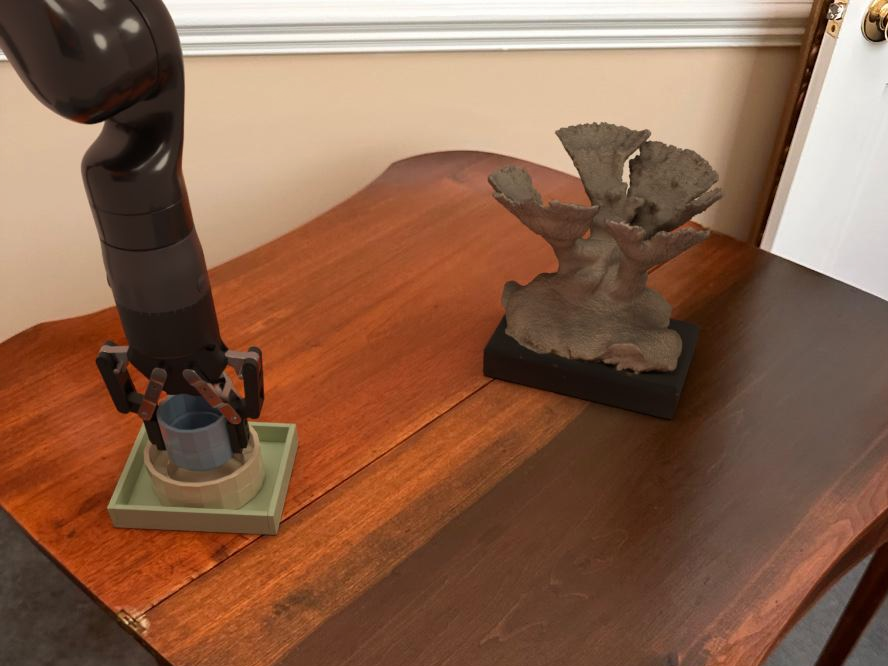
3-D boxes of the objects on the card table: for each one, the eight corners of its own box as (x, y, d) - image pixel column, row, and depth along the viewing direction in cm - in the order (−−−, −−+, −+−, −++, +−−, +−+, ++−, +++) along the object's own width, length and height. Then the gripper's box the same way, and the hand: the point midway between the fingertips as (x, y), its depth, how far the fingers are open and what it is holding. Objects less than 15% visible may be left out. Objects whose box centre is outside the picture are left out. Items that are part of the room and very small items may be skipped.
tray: (114, 527, 81) (106, 508, 79) (151, 436, 89) (145, 416, 87) (276, 535, 81) (273, 515, 79) (298, 442, 89) (295, 423, 87)
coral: (452, 368, 98) (458, 174, 82) (511, 280, 110) (527, 97, 94) (670, 424, 92) (723, 229, 76) (707, 326, 105) (760, 139, 88)
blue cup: (161, 473, 80) (148, 430, 76) (178, 429, 84) (166, 386, 80) (230, 476, 80) (220, 433, 76) (244, 431, 84) (235, 389, 80)
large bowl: (142, 518, 82) (130, 483, 78) (170, 445, 88) (160, 409, 85) (254, 524, 82) (247, 488, 78) (274, 450, 88) (268, 414, 85)
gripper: (259, 262, 71) (285, 424, 84) (84, 255, 71) (136, 418, 84) (242, 313, 66) (271, 477, 79) (54, 305, 66) (114, 470, 79)
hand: (202, 446), depth 81 cm, fingers closed on blue cup, 6 cm apart
